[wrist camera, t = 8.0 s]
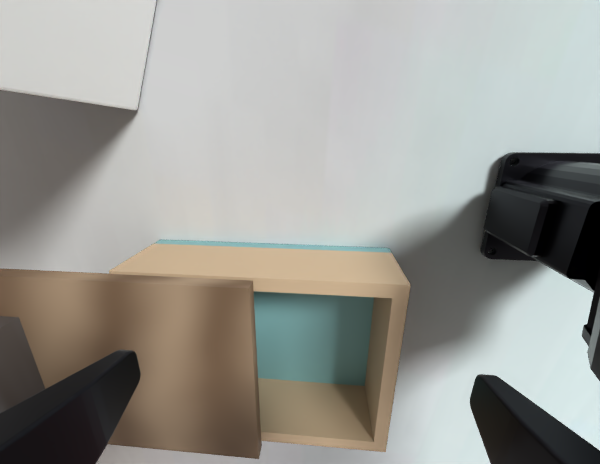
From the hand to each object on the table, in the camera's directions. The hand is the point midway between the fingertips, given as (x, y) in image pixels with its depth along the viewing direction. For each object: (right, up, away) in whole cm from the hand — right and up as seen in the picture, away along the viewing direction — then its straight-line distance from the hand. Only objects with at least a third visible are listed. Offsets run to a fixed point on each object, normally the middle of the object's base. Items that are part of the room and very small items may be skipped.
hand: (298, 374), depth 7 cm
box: (-2, -3, +14) cm, 14 cm away
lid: (-10, -4, +9) cm, 15 cm away
